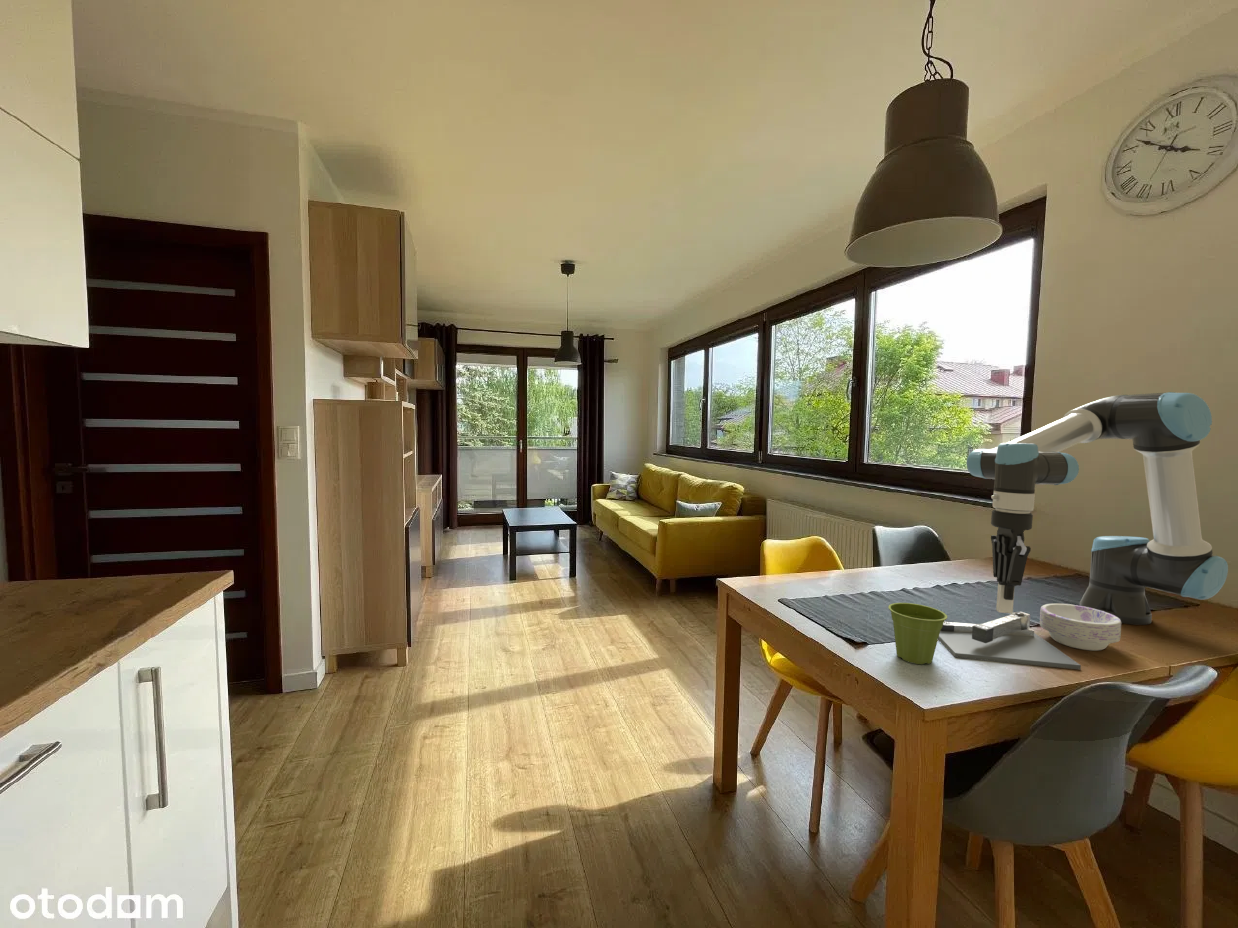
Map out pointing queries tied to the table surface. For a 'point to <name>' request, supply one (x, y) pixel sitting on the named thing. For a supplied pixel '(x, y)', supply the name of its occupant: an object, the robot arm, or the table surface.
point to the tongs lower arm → (968, 627)
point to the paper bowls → (1080, 626)
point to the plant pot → (916, 631)
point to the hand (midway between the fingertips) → (1004, 611)
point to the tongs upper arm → (1001, 627)
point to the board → (1007, 649)
